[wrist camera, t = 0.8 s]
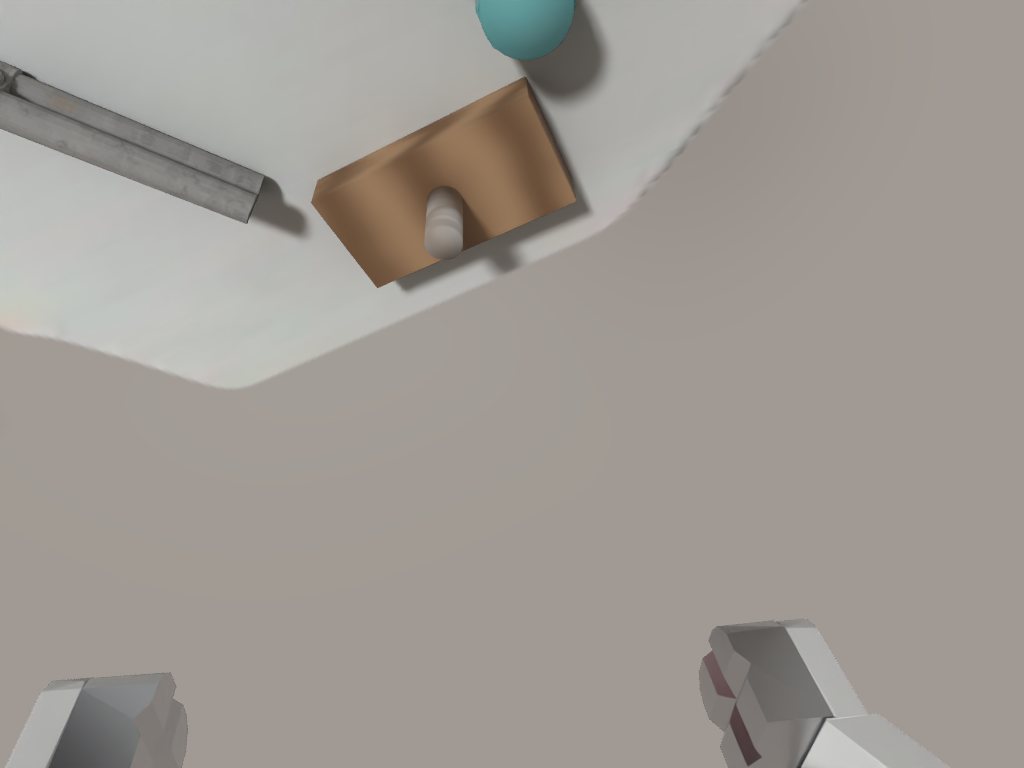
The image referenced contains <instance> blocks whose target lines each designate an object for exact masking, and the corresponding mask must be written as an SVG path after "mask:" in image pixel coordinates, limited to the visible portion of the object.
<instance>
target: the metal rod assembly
mask: <svg viewBox="0 0 1024 768" xmlns="http://www.w3.org/2000/svg"><path fill="white" fill-rule="evenodd" d="M0 129H3V130H5V131H8V132H10V133H13V134H16V135H18V136H21V137H23V138H26V139H28V140H31V141H34V142H36V143H39V144H41V145H44V146H47V147H49V148H52V149H54V150H57V151H59V152H62V153H65V154H67V155H70V156H72V157H75V158H78V159H80V160H83V161H85V162H88V163H90V164H93V165H96V166H98V167H101V168H103V169H106V170H108V171H111V172H114V173H116V174H119V175H121V176H124V177H127V178H129V179H132V180H134V181H137V182H139V183H142V184H145V185H147V186H150V187H152V188H155V189H158V190H160V191H163V192H165V193H168V194H170V195H173V196H176V197H178V198H181V199H183V200H186V201H189V202H191V203H194V204H196V205H199V206H201V207H204V208H207V209H209V210H212V211H214V212H217V213H219V214H222V215H225V216H227V217H230V218H232V219H235V220H238V221H240V222H243V223H245V224H247V223H248V220H249V217H250V215H251V213H252V210H253V207H254V205H255V203H256V201H257V198H258V196H259V192H260V189H261V185H262V182H263V179H264V177H265V176H264V175H261V174H259V173H257V172H254V171H252V170H250V169H247V168H245V167H242V166H240V165H238V164H235V163H233V162H230V161H228V160H226V159H223V158H221V157H219V156H216V155H214V154H211V153H209V152H207V151H204V150H202V149H199V148H197V147H195V146H192V145H190V144H188V143H185V142H183V141H180V140H178V139H176V138H173V137H171V136H168V135H166V134H164V133H161V132H159V131H157V130H154V129H152V128H149V127H147V126H145V125H142V124H140V123H137V122H135V121H133V120H130V119H128V118H126V117H123V116H121V115H118V114H116V113H114V112H111V111H109V110H106V109H104V108H102V107H99V106H97V105H95V104H92V103H90V102H87V101H85V100H83V99H80V98H78V97H75V96H73V95H71V94H68V93H66V92H63V91H61V90H59V89H56V88H54V87H52V86H49V85H47V84H44V83H42V82H40V81H37V80H35V79H32V78H30V77H28V76H25V75H23V72H22V71H21V70H20V69H17V68H15V67H14V66H11V65H9V64H7V63H4V62H2V61H0Z"/></svg>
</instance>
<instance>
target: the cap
mask: <svg viewBox="0 0 1024 768" xmlns="http://www.w3.org/2000/svg"><path fill="white" fill-rule="evenodd" d="M475 3H476V13H477V15H478V17H479V20H480V22H481V25H482V28H483V30H484V33H485V35H486V37H487V38H488V40H489V41H490V43H491V45H492V47H493V48H495V49H497V50H498V51H500V52H501V53H503V54H504V55H506V56H509V57H511V58H514V59H519V60H531V59H536V58H540V57H542V56H545V55H546V54H548V53H550V52H551V51H553V50H554V49H555V48H556V47H557V46H558V45H559V44H561V42H562V41H563V39H564V38H565V36H566V35H567V33H568V31H569V29H570V26H571V23H572V19H573V13H574V10H575V7H576V1H575V0H475Z"/></svg>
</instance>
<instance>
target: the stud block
mask: <svg viewBox="0 0 1024 768" xmlns="http://www.w3.org/2000/svg"><path fill="white" fill-rule="evenodd" d="M574 202H576V197H575V192H574V188H573V183H572V179H571V177H570V175H569V172H568V170H567V168H566V166H565V164H564V161H563V159H562V157H561V155H560V152H559V150H558V148H557V146H556V144H555V141H554V139H553V137H552V135H551V133H550V130H549V128H548V126H547V124H546V121H545V119H544V117H543V115H542V113H541V110H540V108H539V106H538V104H537V101H536V99H535V97H534V95H533V93H532V90H531V88H530V86H529V84H528V82H527V79H526V77H524V78H522V79H520V80H518V81H516V82H514V83H512V84H510V85H508V86H506V87H504V88H502V89H500V90H498V91H496V92H494V93H492V94H490V95H488V96H486V97H484V98H482V99H480V100H478V101H476V102H474V103H472V104H470V105H468V106H466V107H464V108H462V109H460V110H458V111H456V112H454V113H452V114H450V115H448V116H446V117H444V118H442V119H440V120H438V121H436V122H434V123H432V124H430V125H428V126H426V127H424V128H422V129H420V130H418V131H416V132H414V133H412V134H410V135H408V136H406V137H404V138H402V139H400V140H398V141H396V142H394V143H392V144H390V145H388V146H386V147H384V148H382V149H380V150H378V151H376V152H374V153H372V154H370V155H368V156H366V157H364V158H362V159H360V160H358V161H356V162H354V163H352V164H350V165H348V166H346V167H344V168H341V169H339V170H337V171H335V172H333V173H331V174H329V175H327V176H325V177H323V178H321V179H319V180H318V181H317V185H316V188H315V191H314V195H313V198H312V201H311V203H312V205H313V206H314V207H315V208H316V210H317V211H318V212H319V214H320V215H321V216H322V217H323V219H324V220H325V221H326V223H327V224H328V225H329V226H330V228H331V229H332V230H333V232H334V233H335V234H336V235H337V237H338V238H339V239H340V241H341V242H342V243H343V244H344V246H345V247H346V248H347V250H348V251H349V252H350V253H351V255H352V256H353V257H354V259H355V260H356V261H357V262H358V264H359V265H360V266H361V268H362V269H363V270H364V271H365V273H366V274H367V275H368V277H369V278H370V279H371V280H372V282H373V283H374V284H375V286H376V287H377V288H379V287H381V286H383V285H386V284H388V283H390V282H392V281H395V280H397V279H399V278H402V277H404V276H406V275H408V274H411V273H413V272H415V271H418V270H420V269H422V268H425V267H427V266H429V265H431V264H434V263H436V262H438V261H441V260H448V259H452V258H454V257H456V256H457V255H458V254H459V253H460V252H461V251H464V250H466V249H468V248H470V247H473V246H475V245H477V244H480V243H482V242H484V241H486V240H489V239H491V238H493V237H496V236H498V235H500V234H503V233H505V232H507V231H509V230H512V229H514V228H516V227H519V226H521V225H523V224H525V223H528V222H530V221H532V220H535V219H537V218H539V217H542V216H544V215H546V214H548V213H551V212H553V211H555V210H558V209H560V208H562V207H564V206H567V205H569V204H571V203H574Z"/></svg>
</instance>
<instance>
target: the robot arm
mask: <svg viewBox="0 0 1024 768" xmlns="http://www.w3.org/2000/svg"><path fill="white" fill-rule="evenodd" d="M709 643H710V645H711V648H712V651H711V652H710V653H709V654H707V655H706V656H705V657H704V658H703V659H702V663H701V667H700V670H699V680H700V691H701V696H702V699H703V703H704V706H705V709H706V712H707V714H708V717H709V719H710V720H711V721H712V722H713V723H715V724H716V725H717V726H718V727H719V728H720V729H722V730H723V731H724V734H723V738H722V742H721V746H720V748H721V750H722V753H723V755H724V758H725V760H726V763H727V766H728V768H951V767H949V766H948V765H946V764H945V763H944V762H942V761H941V760H940V759H938V758H937V757H936V756H934V755H933V754H932V753H930V752H929V751H928V750H926V749H925V748H924V747H922V746H921V745H920V744H918V743H917V742H915V741H914V740H912V739H911V738H910V737H909V736H907V735H906V734H905V733H903V732H902V731H901V730H899V729H898V728H896V727H895V726H894V725H892V724H891V723H890V722H888V721H887V720H886V719H884V718H883V717H882V716H880V715H879V714H878V713H876V714H875V713H874V714H868V712H867V711H866V709H865V707H864V706H863V704H862V702H861V701H860V700H859V698H858V696H857V694H856V692H855V691H854V689H853V688H852V686H851V684H850V683H849V681H848V679H847V678H846V676H845V674H844V673H843V671H842V669H841V668H840V666H839V664H838V663H837V661H836V659H835V658H834V656H833V655H832V653H831V651H830V650H829V648H828V646H827V645H826V643H825V641H824V640H823V638H822V636H821V635H820V633H819V632H818V630H817V628H816V626H815V625H814V624H813V623H812V622H810V621H809V620H808V619H794V620H784V621H764V622H754V623H744V624H735V625H724V626H717V627H716V628H714V629H713V630H712V632H711V635H710V638H709ZM175 689H176V684H175V682H174V679H173V677H172V675H171V673H155V674H142V675H127V676H113V677H100V678H93V677H92V678H80V679H70V680H69V679H68V680H57V681H51V682H50V683H49V684H48V686H47V687H46V688H45V689H44V690H43V691H42V693H41V694H40V696H39V697H38V700H37V702H36V704H35V706H34V708H33V710H32V712H31V714H30V716H29V718H28V720H27V723H26V725H25V727H24V729H23V731H22V733H21V735H20V737H19V739H18V742H17V743H16V746H15V747H14V750H13V752H12V754H11V756H10V758H9V760H8V762H7V764H6V766H5V768H182V765H183V761H184V757H185V753H186V745H187V734H188V725H187V715H186V712H185V709H184V706H183V704H181V703H179V702H178V701H176V700H174V699H173V696H174V692H175Z"/></svg>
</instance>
